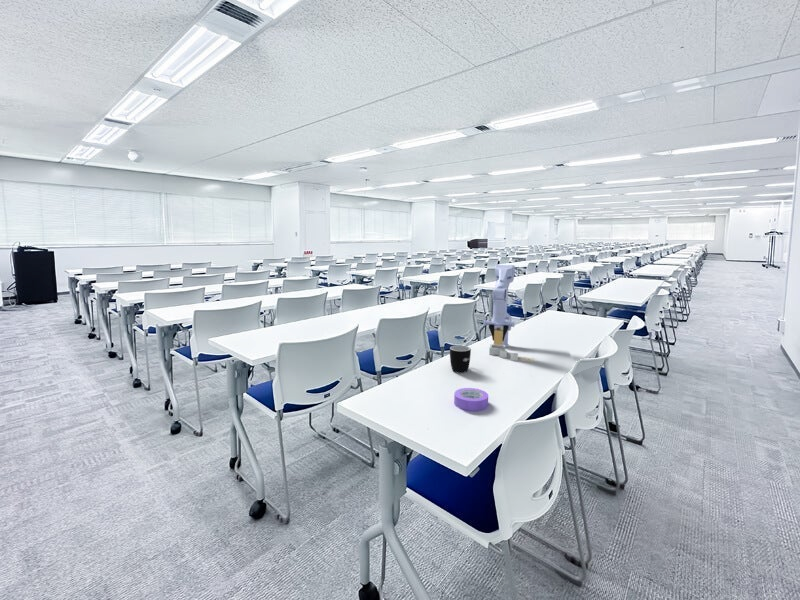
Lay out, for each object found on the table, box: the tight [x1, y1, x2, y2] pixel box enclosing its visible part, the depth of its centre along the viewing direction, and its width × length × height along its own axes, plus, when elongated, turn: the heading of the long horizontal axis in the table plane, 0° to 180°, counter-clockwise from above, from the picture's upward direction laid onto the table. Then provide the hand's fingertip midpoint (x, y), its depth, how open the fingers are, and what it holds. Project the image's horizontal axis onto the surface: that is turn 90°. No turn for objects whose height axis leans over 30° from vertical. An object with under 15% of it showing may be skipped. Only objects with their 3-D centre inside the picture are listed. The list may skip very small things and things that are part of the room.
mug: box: [449, 344, 472, 374], centre depth 166 cm, size 12×9×10 cm
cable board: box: [488, 343, 535, 363], centre depth 181 cm, size 16×22×4 cm
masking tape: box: [453, 387, 489, 412], centre depth 133 cm, size 12×12×4 cm
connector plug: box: [493, 327, 503, 345], centre depth 185 cm, size 4×4×8 cm
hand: (498, 340), depth 185 cm, fingers closed on connector plug, 4 cm apart
